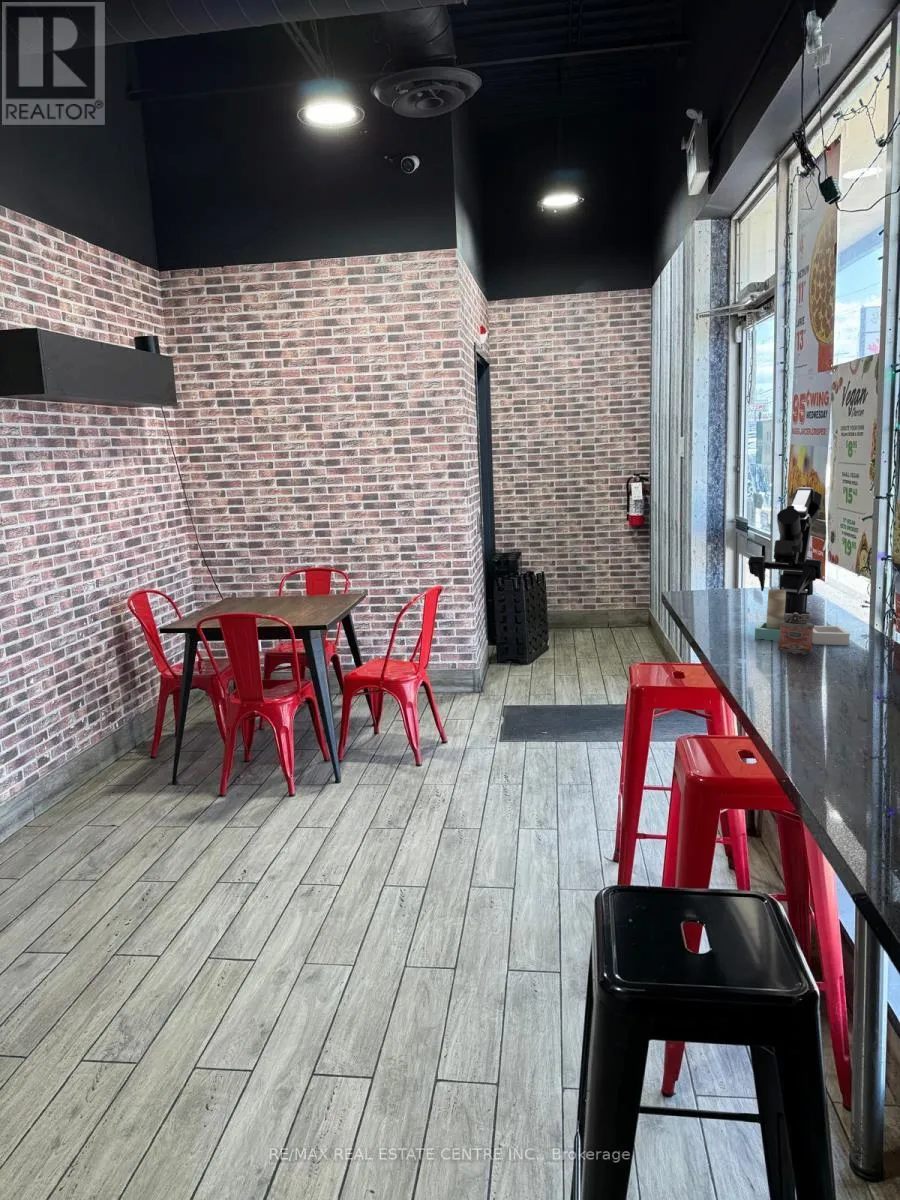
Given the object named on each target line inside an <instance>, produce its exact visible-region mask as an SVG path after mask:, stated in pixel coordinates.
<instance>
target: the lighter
mask: <svg viewBox="0 0 900 1200" xmlns="http://www.w3.org/2000/svg"><path fill="white" fill-rule="evenodd" d="M812 618H813V617H812V615H811V614H801V615H800V614H798V613H796V612H795V613H793V614H787V613H786V614H785V615H784V621H780V636H779V642H778V647H777V651H778V650H779V651H778V652H781V651H785V652H784V653H788V652H792V653H791V654H797V653H802V654H801V655H811V653H812V654H813V649H812V646H813V643H812V635H813V628H814V626H815V624H814V623H811V622H807V621H812ZM804 653H805V654H804ZM809 653H810V654H809Z"/></svg>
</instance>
